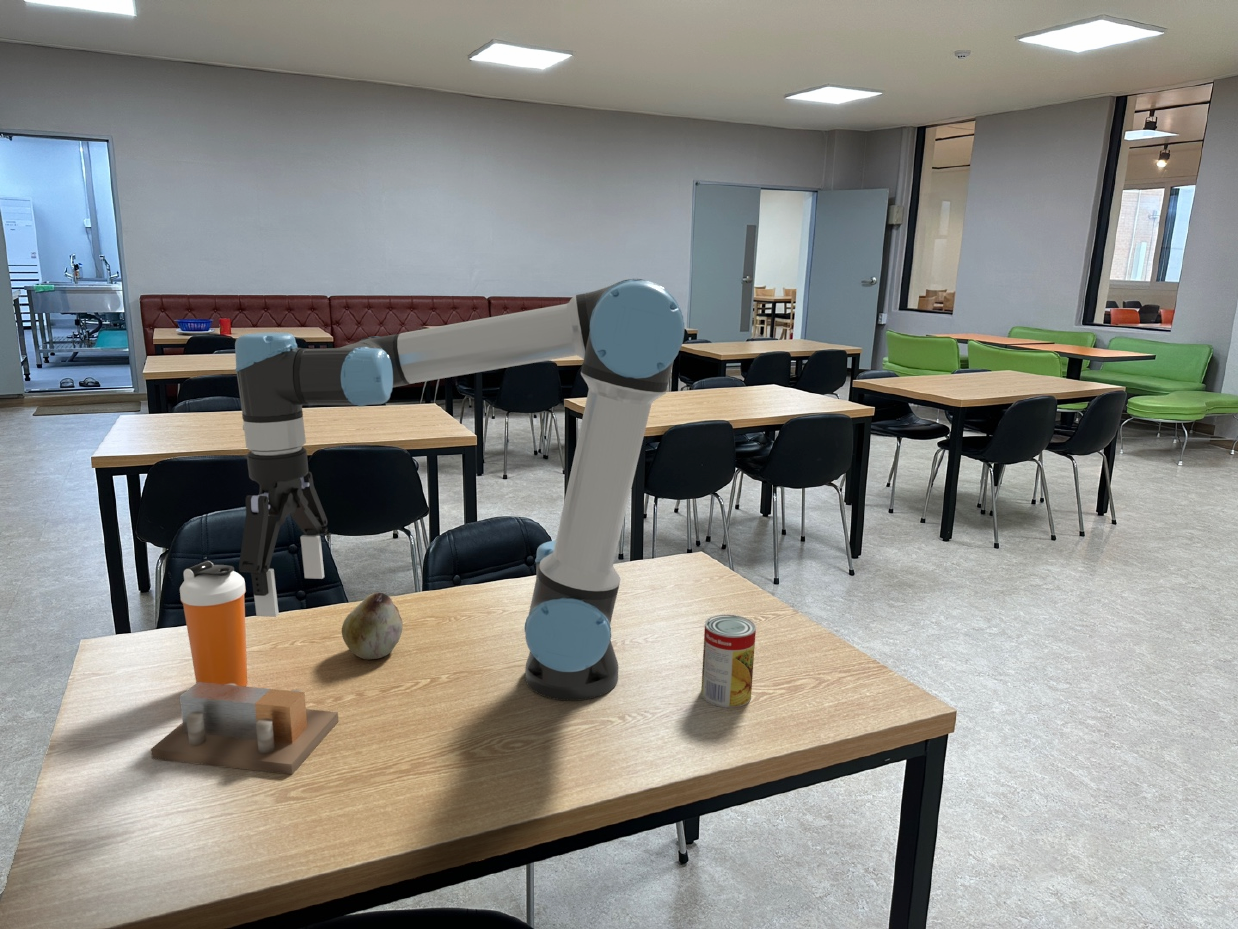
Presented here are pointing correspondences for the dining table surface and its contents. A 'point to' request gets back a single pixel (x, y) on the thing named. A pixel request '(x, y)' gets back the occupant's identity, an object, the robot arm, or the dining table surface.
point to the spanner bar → (245, 710)
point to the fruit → (373, 627)
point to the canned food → (728, 660)
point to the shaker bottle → (216, 623)
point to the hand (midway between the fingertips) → (292, 595)
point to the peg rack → (244, 745)
